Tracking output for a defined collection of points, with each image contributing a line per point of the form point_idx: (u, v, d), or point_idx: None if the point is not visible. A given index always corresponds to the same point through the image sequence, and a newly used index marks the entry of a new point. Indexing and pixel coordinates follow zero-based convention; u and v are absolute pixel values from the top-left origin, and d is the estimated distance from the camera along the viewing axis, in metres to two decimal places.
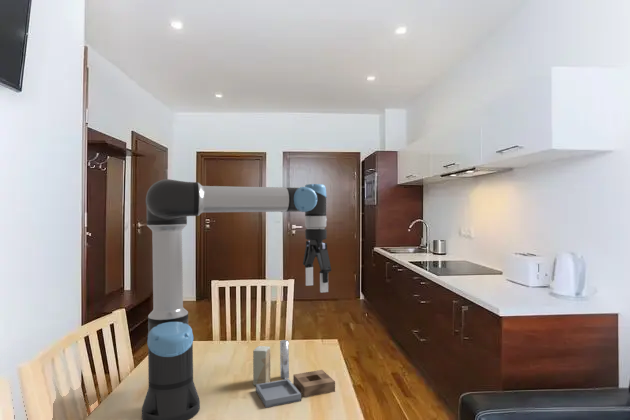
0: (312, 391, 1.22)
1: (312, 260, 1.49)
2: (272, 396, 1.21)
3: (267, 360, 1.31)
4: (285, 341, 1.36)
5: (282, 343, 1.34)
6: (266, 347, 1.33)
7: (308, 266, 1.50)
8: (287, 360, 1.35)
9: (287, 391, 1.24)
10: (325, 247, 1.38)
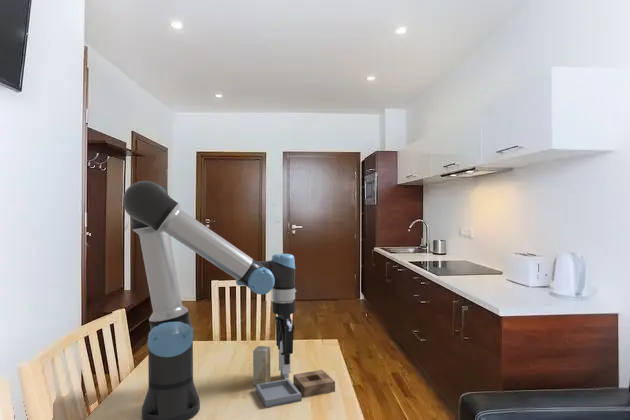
0: (312, 391, 1.22)
1: None
2: (272, 396, 1.21)
3: (267, 360, 1.31)
4: None
5: None
6: (266, 347, 1.33)
7: None
8: None
9: (287, 391, 1.24)
10: (291, 330, 1.30)
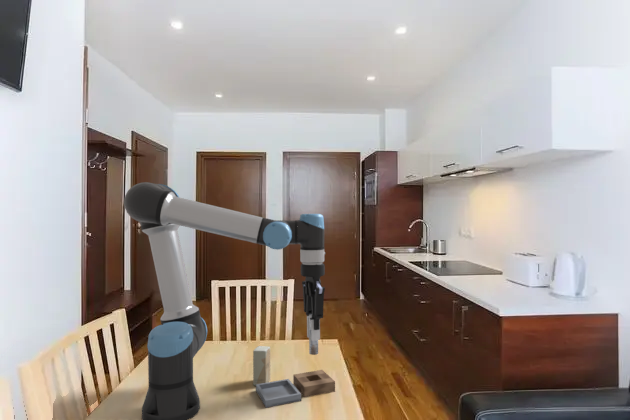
0: (312, 391, 1.22)
1: None
2: (272, 396, 1.21)
3: (267, 360, 1.31)
4: None
5: (311, 316, 1.27)
6: (266, 347, 1.33)
7: None
8: None
9: (287, 391, 1.24)
10: (321, 292, 1.22)
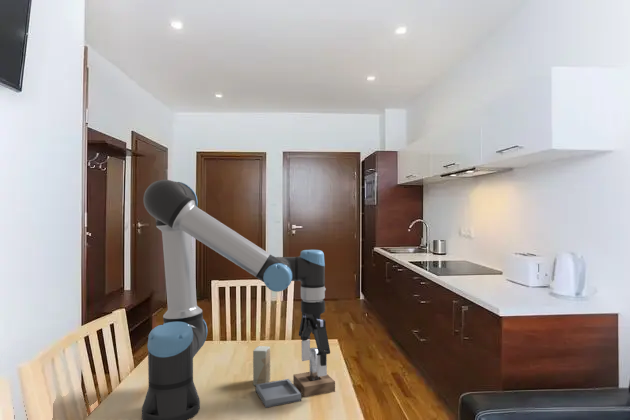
0: (312, 391, 1.22)
1: (309, 333, 1.33)
2: (272, 396, 1.21)
3: (267, 360, 1.31)
4: (315, 349, 1.28)
5: (312, 351, 1.27)
6: (266, 347, 1.33)
7: (304, 338, 1.34)
8: None
9: (287, 391, 1.24)
10: (323, 325, 1.22)
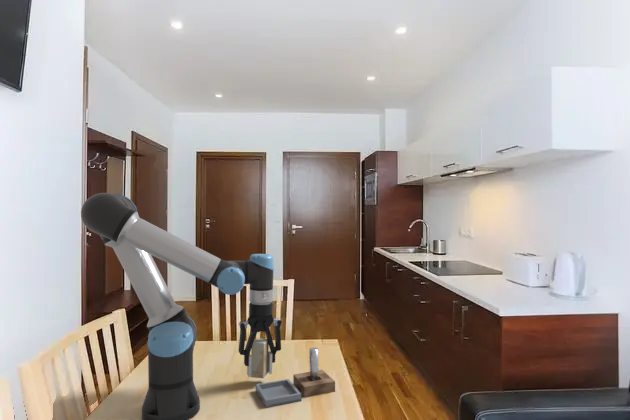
0: (312, 391, 1.22)
1: (269, 342, 1.32)
2: (272, 396, 1.21)
3: (266, 352, 1.31)
4: (315, 349, 1.28)
5: (312, 351, 1.27)
6: (264, 339, 1.33)
7: (271, 351, 1.33)
8: (317, 369, 1.27)
9: (287, 391, 1.24)
10: (241, 328, 1.29)
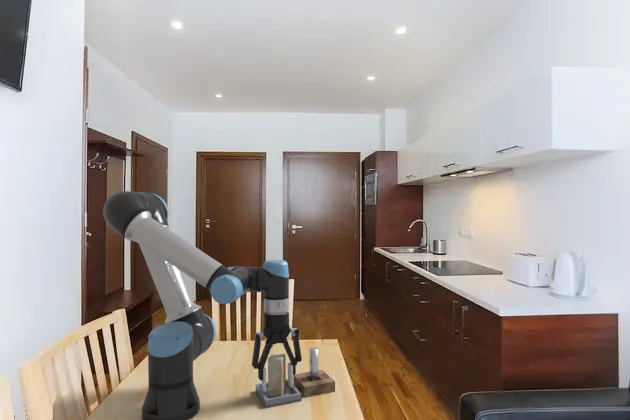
0: (312, 391, 1.22)
1: (288, 353, 1.23)
2: (272, 396, 1.21)
3: (283, 368, 1.22)
4: (315, 349, 1.28)
5: (312, 351, 1.27)
6: (281, 355, 1.24)
7: (291, 362, 1.25)
8: (317, 369, 1.27)
9: (287, 391, 1.24)
10: (256, 339, 1.20)
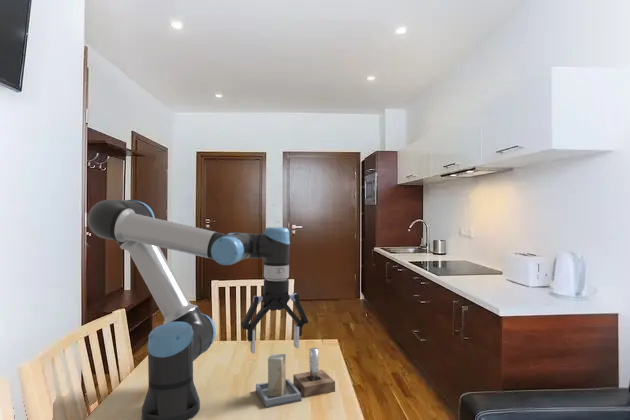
0: (312, 391, 1.22)
1: (292, 317, 1.24)
2: (272, 396, 1.21)
3: (283, 368, 1.22)
4: (315, 349, 1.28)
5: (312, 351, 1.27)
6: (281, 355, 1.24)
7: (297, 324, 1.26)
8: (317, 369, 1.27)
9: (287, 391, 1.24)
10: (253, 301, 1.20)
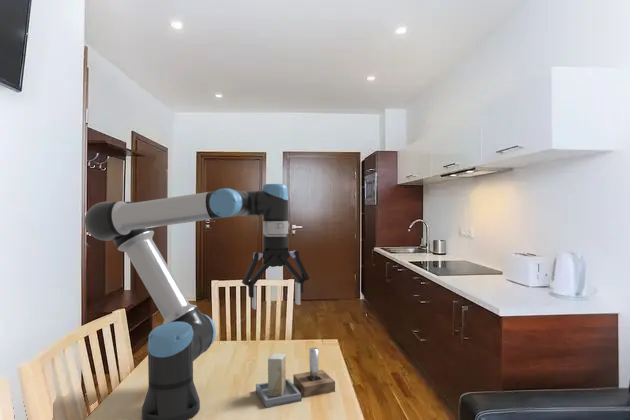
0: (312, 391, 1.22)
1: (293, 274, 1.24)
2: (272, 396, 1.21)
3: (283, 368, 1.22)
4: (315, 349, 1.28)
5: (312, 351, 1.27)
6: (281, 355, 1.24)
7: (298, 281, 1.26)
8: (317, 369, 1.27)
9: (287, 391, 1.24)
10: (254, 257, 1.20)
